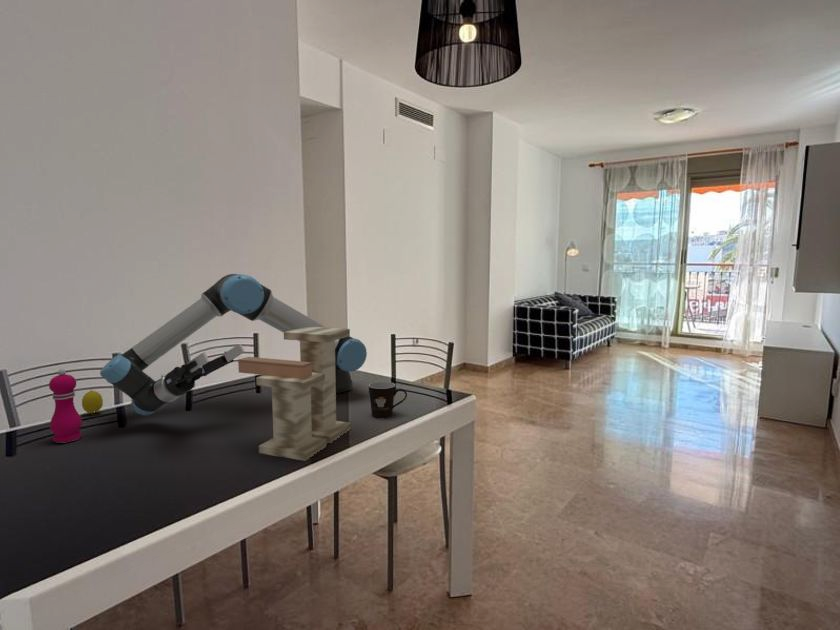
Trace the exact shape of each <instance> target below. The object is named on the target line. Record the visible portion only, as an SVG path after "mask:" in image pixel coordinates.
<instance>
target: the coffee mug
mask: <svg viewBox="0 0 840 630" xmlns="http://www.w3.org/2000/svg"><path fill="white" fill-rule="evenodd" d="M398 392H403V393H404V395H405V396H404V398H402V400H400V401H398V402H397V403H395V404H394V401H395V396H396V395H397V393H398ZM368 394H369V401H370V410H371V417H373V418H374V417H375V419H379V418H384V419H388V418H387V417H389V418H391V417H392V416H393V410H394V408H395V407H397V406H398V405H400V404H402V403H403V402H404V401H405V400H406V399H407V398H408V397H407V396H408V393H407V391H406V390H405V389H403V388H397V389H396V384H395V383H394V382H390V381H375V382H371V383H369V384H368ZM391 415H392V416H391ZM390 416H391V417H390Z"/></svg>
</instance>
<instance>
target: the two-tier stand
mask: <svg viewBox="0 0 840 630" xmlns="http://www.w3.org/2000/svg"><path fill="white" fill-rule="evenodd" d="M324 327H325V326H324ZM324 327H304V328H300V329H295V330H291V331H287V332H284V333H283V340H287V341H288V340H289V341H298V340H300V341H299V352H300V354H299V357H300V360H299V361H303V362H312V376H310V377H307V378H305V379H298V378H288V377H278V376H268V375H260V376H257V377H256V378H255V380H256V383H255V384H256V387H257V386H259V387H268V388H271V401H272V402H271V403H272V404H271V405H272V406H271V407H272V408H271V409H272V429H273V431H272V432H273V434H272V436H273V437H272V438H270V439H269V440H266V441H265V442H263V443H261V444H260V445H258V454H260V455H261V454H262V455H267V456H274V457H280V458H286V459H290V460H291V459H292V460H297V461H302V462H303V461H304V462H306V461H308V460H309V459H311V458H312V457H313V456H315V455H316V454H318V453H319V452H321V451H320V450H324V449H325V448H326V447H327V444H328V443H331V444H332V443H334V442H335V441H336V440H338V439H339V438H341V437H342V436H343V434H344V433H345V434H347V431H348V432H349V431H351V430H352V422H347V421H341V420H337V399H336V398H337V394H336V379H335V340H338V339H341V338H344V337H348V336H350V337H351V334H350V333H351V332H350V331H351V329H350V328H340V327H326V328H324ZM350 429H351V430H350ZM345 434H344V435H345ZM341 435H342V436H341ZM340 436H341V437H340ZM337 438H338V439H337ZM334 440H335V441H334ZM333 441H334V442H333ZM317 452H318V453H317ZM314 454H315V455H314ZM310 457H311V458H310Z"/></svg>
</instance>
